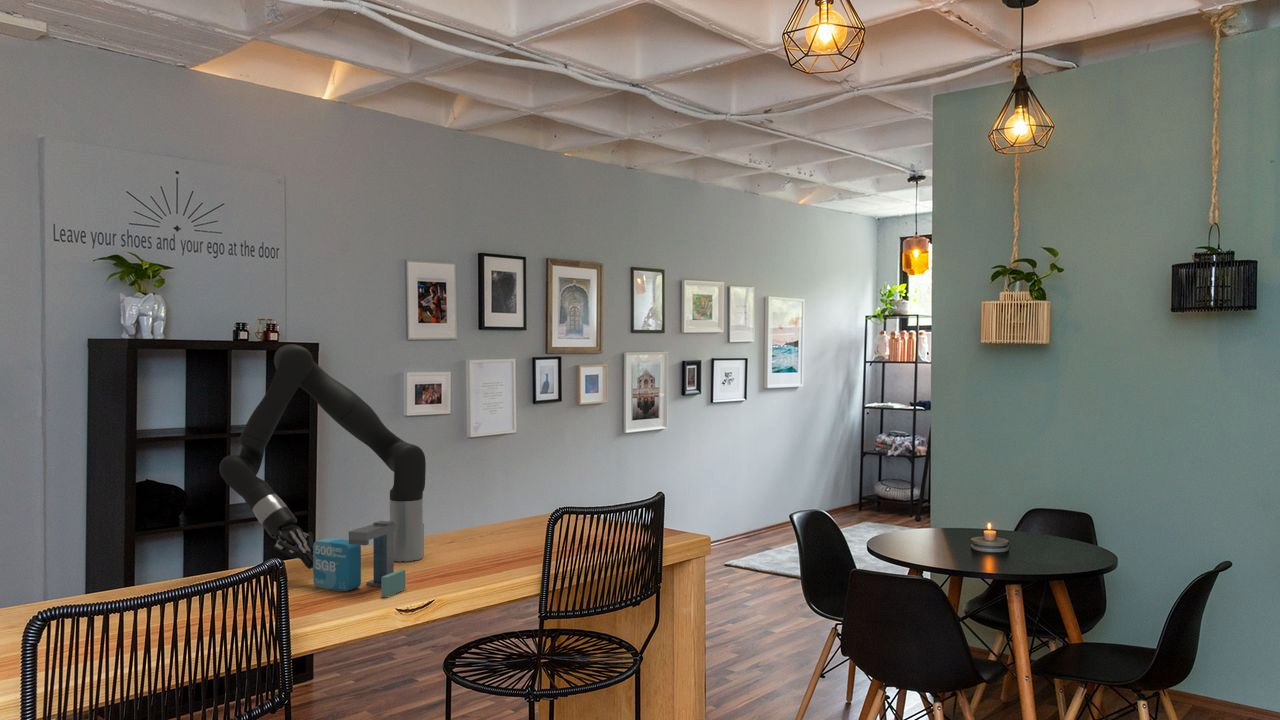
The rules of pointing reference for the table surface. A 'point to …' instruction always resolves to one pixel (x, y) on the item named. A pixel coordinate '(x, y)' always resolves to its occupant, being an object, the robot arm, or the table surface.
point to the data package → (336, 564)
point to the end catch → (392, 583)
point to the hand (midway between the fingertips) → (313, 566)
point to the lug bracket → (377, 547)
